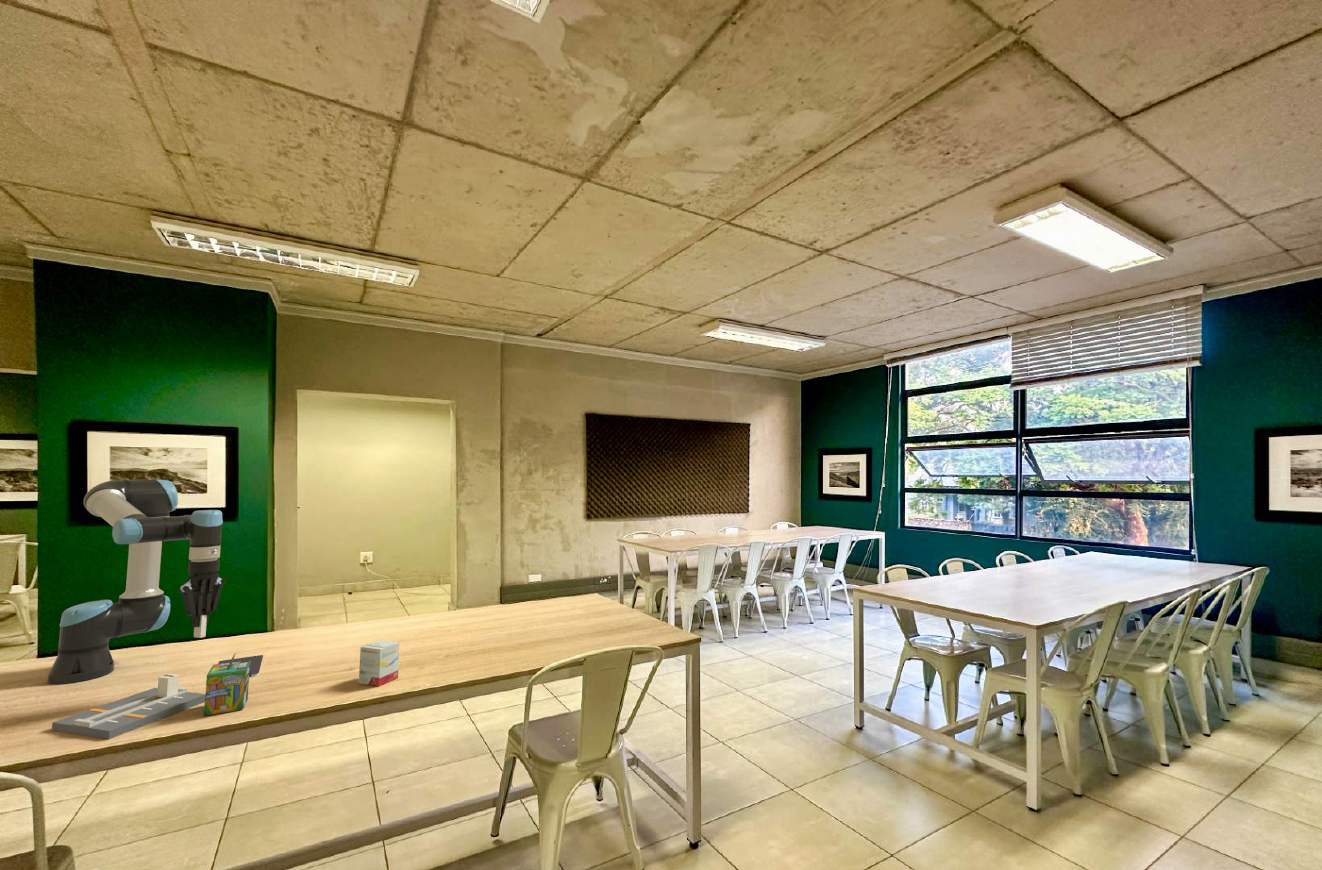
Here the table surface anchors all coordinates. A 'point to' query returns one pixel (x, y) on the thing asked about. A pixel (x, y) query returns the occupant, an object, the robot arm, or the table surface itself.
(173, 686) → the fader tab
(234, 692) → the chalk box
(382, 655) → the ink box
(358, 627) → the table surface
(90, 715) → the console
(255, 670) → the notebook
